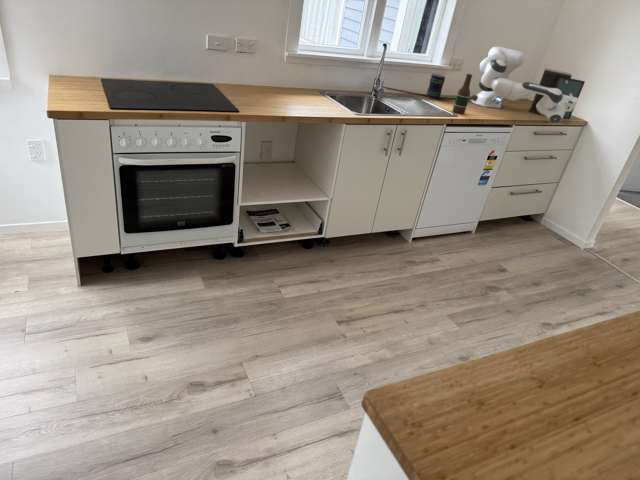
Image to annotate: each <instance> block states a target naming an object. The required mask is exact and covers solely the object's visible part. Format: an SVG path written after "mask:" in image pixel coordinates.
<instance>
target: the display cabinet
mask: <svg viewBox="0 0 640 480" xmlns="http://www.w3.org/2000/svg"><path fill="white" fill-rule="evenodd" d="M559 76H562V77H567V78H571V79H572V76H573V74H572V73H571V72H565V71H561V70H557V69H552V68H548V67H545V68H544V70H543V73H542V76H541V79H540V81H539V85H542V86H546V87H551V88H555V86H556V83H557V80H558V78H559ZM543 97H544V95H540V94H537V93H535V95H534V97H533V100H532V102H531V105H530V108H529V111H528V112H529V113H531V114H536V115H540V114H539V113H538V112H537V110H536V104H537V103H538V102H539V101H540V100H541V99H542V98H543Z"/></svg>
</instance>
